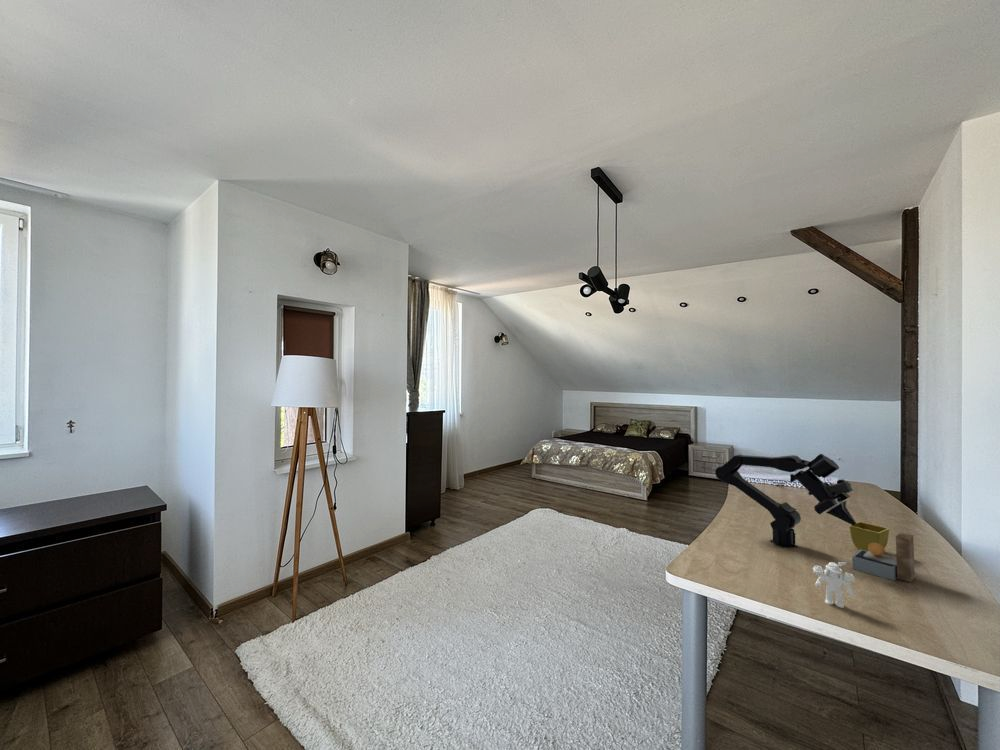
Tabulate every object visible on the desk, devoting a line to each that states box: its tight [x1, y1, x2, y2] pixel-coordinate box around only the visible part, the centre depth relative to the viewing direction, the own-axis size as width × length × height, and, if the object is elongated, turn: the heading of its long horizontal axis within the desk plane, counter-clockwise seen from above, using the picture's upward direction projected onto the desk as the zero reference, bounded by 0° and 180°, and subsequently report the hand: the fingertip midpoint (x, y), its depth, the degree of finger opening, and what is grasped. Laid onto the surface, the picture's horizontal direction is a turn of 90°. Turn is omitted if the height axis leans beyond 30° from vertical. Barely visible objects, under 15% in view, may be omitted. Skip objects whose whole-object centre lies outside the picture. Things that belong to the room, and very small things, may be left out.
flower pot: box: [848, 521, 890, 551], centre depth 145 cm, size 9×9×9 cm
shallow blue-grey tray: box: [851, 549, 898, 581], centre depth 130 cm, size 10×10×4 cm
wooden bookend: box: [863, 532, 916, 583], centre depth 127 cm, size 11×6×13 cm, turn 36°
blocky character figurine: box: [812, 561, 856, 609], centre depth 110 cm, size 9×4×12 cm, turn 48°
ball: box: [868, 543, 886, 556], centre depth 130 cm, size 4×4×4 cm
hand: (854, 524), depth 134 cm, fingers closed
